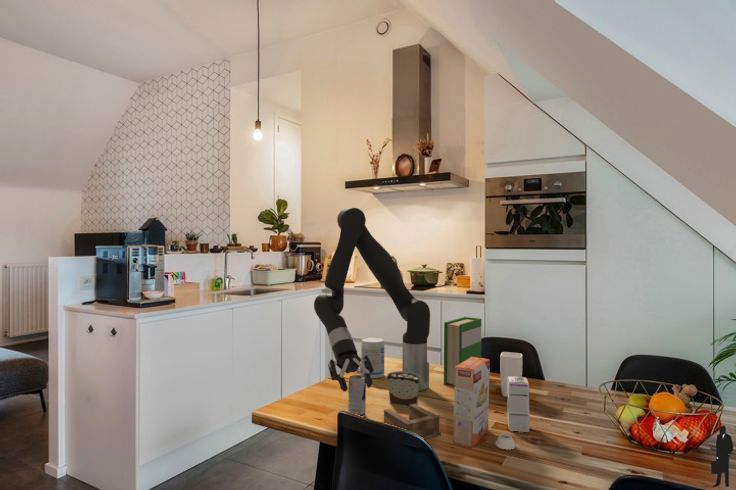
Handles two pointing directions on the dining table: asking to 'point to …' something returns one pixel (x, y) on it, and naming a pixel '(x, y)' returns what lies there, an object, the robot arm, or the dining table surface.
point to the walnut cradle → (415, 421)
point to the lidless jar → (505, 442)
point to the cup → (509, 368)
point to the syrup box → (518, 404)
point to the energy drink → (357, 395)
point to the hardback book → (460, 344)
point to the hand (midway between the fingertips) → (358, 388)
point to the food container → (403, 388)
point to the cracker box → (471, 401)
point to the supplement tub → (374, 355)
